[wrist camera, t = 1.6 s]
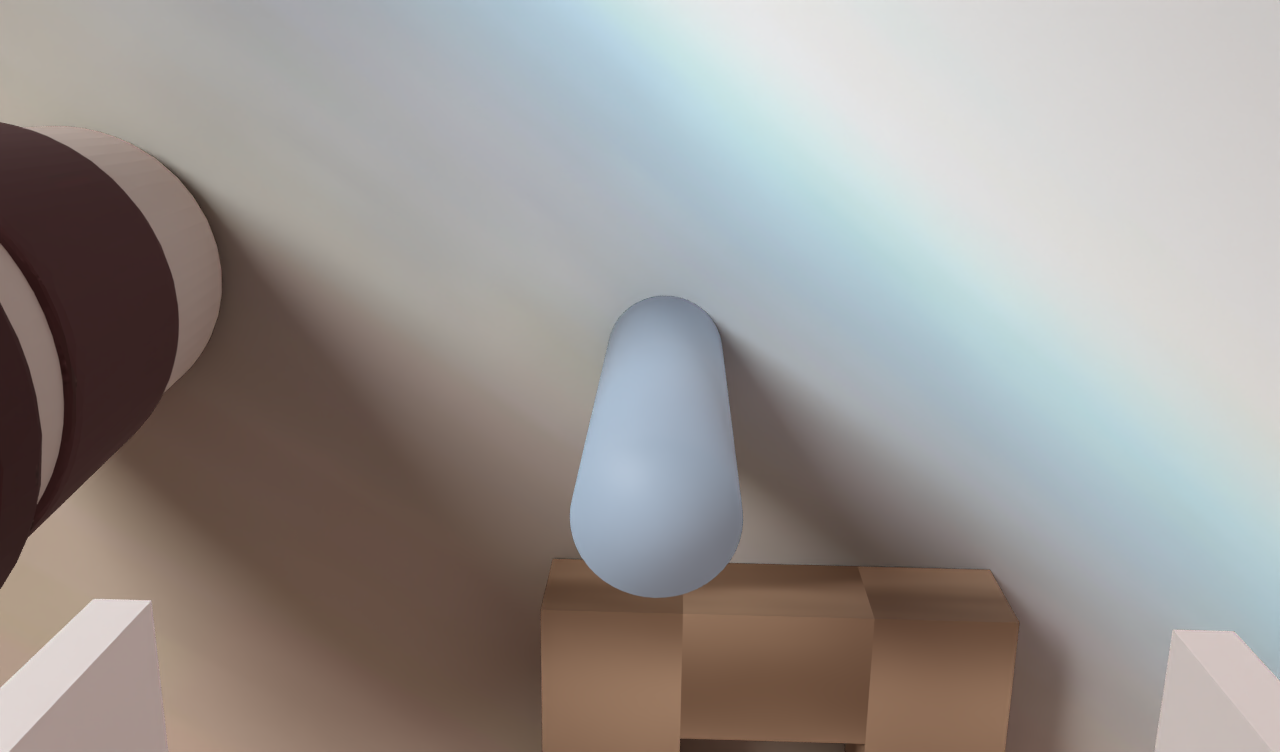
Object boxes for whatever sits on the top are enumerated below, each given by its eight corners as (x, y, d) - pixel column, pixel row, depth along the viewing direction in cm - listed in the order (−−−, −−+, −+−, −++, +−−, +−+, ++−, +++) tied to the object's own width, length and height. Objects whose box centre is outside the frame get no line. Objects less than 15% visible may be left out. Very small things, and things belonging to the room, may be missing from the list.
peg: (607, 294, 31) (569, 436, 20) (724, 296, 31) (746, 439, 20) (607, 404, 32) (570, 595, 21) (720, 407, 32) (739, 600, 21)
